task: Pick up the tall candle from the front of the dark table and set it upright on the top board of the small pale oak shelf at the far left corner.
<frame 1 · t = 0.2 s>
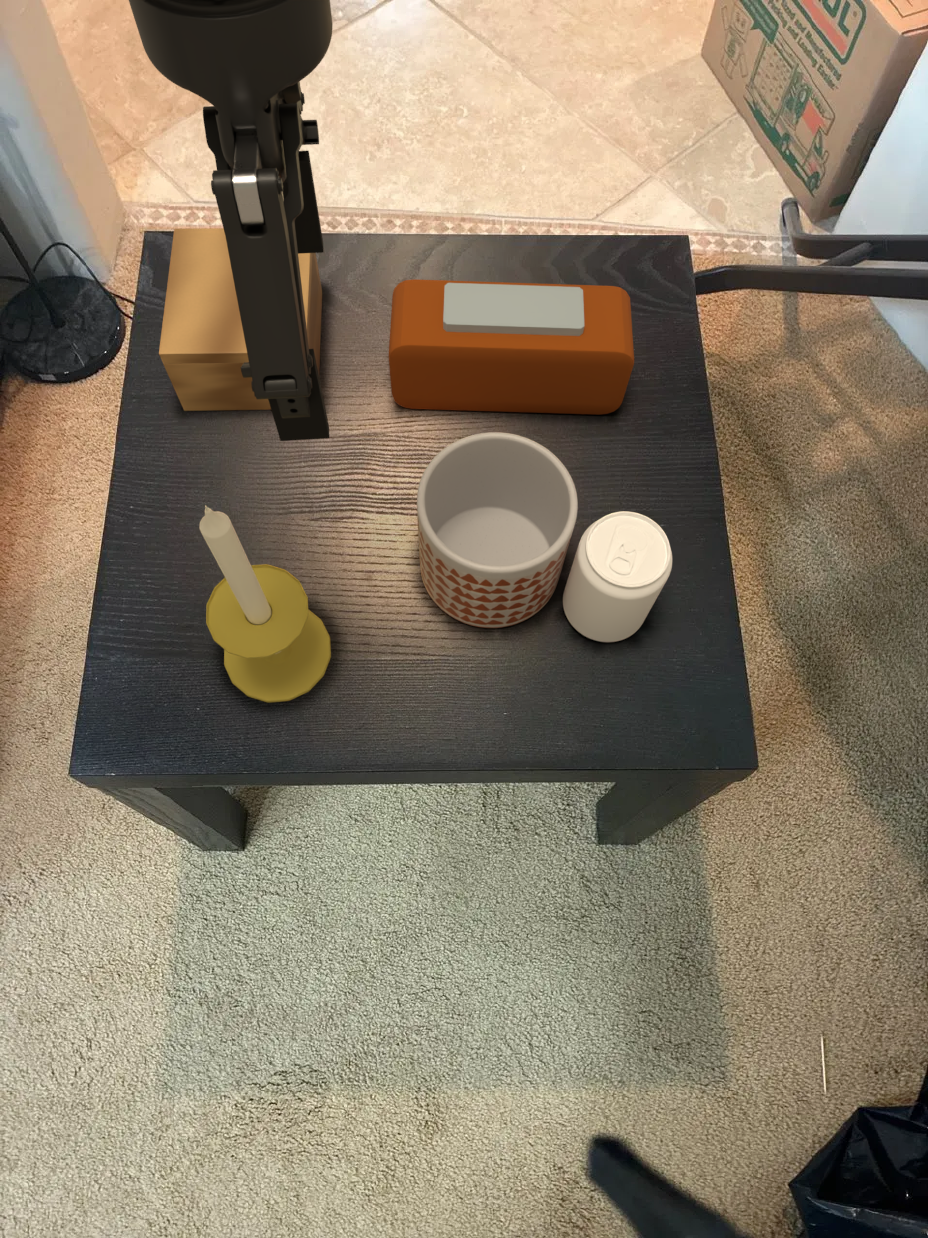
hand: (303, 337, 51), 36 cm above the table, tool pointing down, fingers open, 13 cm apart
candle: (278, 652, 81), on the table
beverage can: (603, 606, 84), on the table
alarm clock: (505, 382, 94), on the table
shelf: (255, 348, 95), on the table
planter: (489, 566, 85), on the table
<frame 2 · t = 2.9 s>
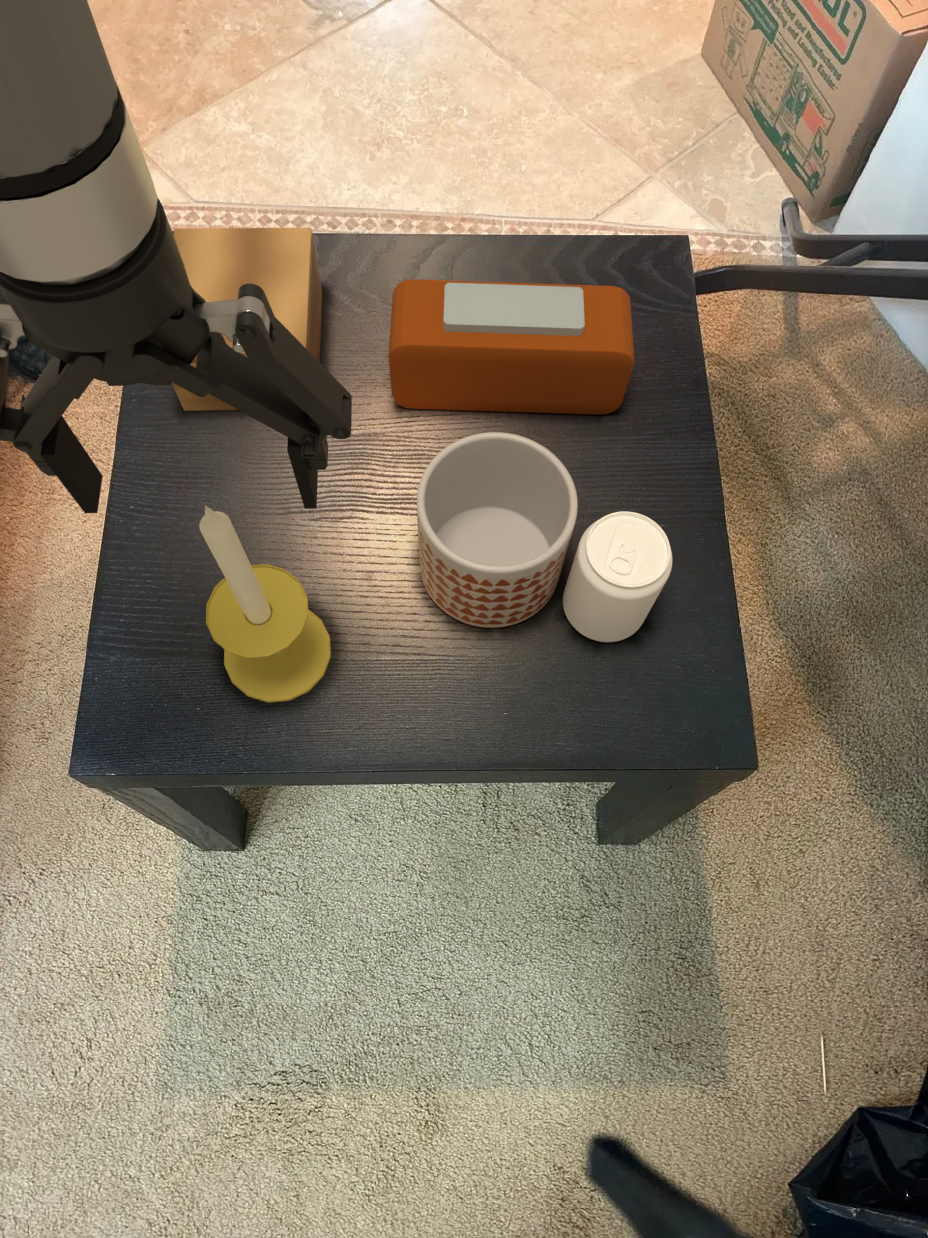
hand: (203, 492, 55), 28 cm above the table, tool pointing down, fingers open, 13 cm apart
nothing on the table moved.
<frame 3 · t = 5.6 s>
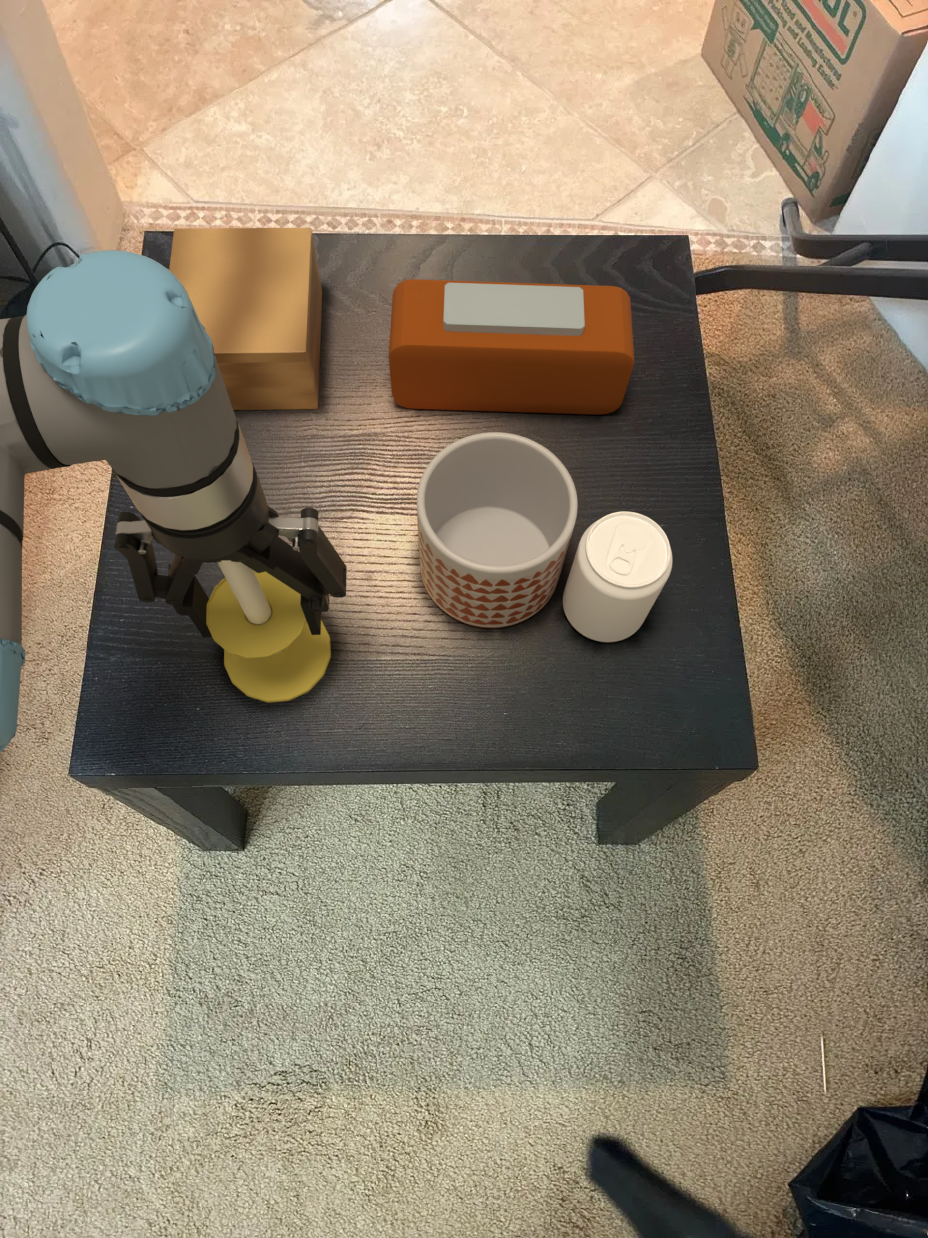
hand: (263, 621, 74), 7 cm above the table, tool pointing down, fingers closed on candle, 8 cm apart
candle: (278, 652, 81), on the table, touching gripper
everything else where it was.
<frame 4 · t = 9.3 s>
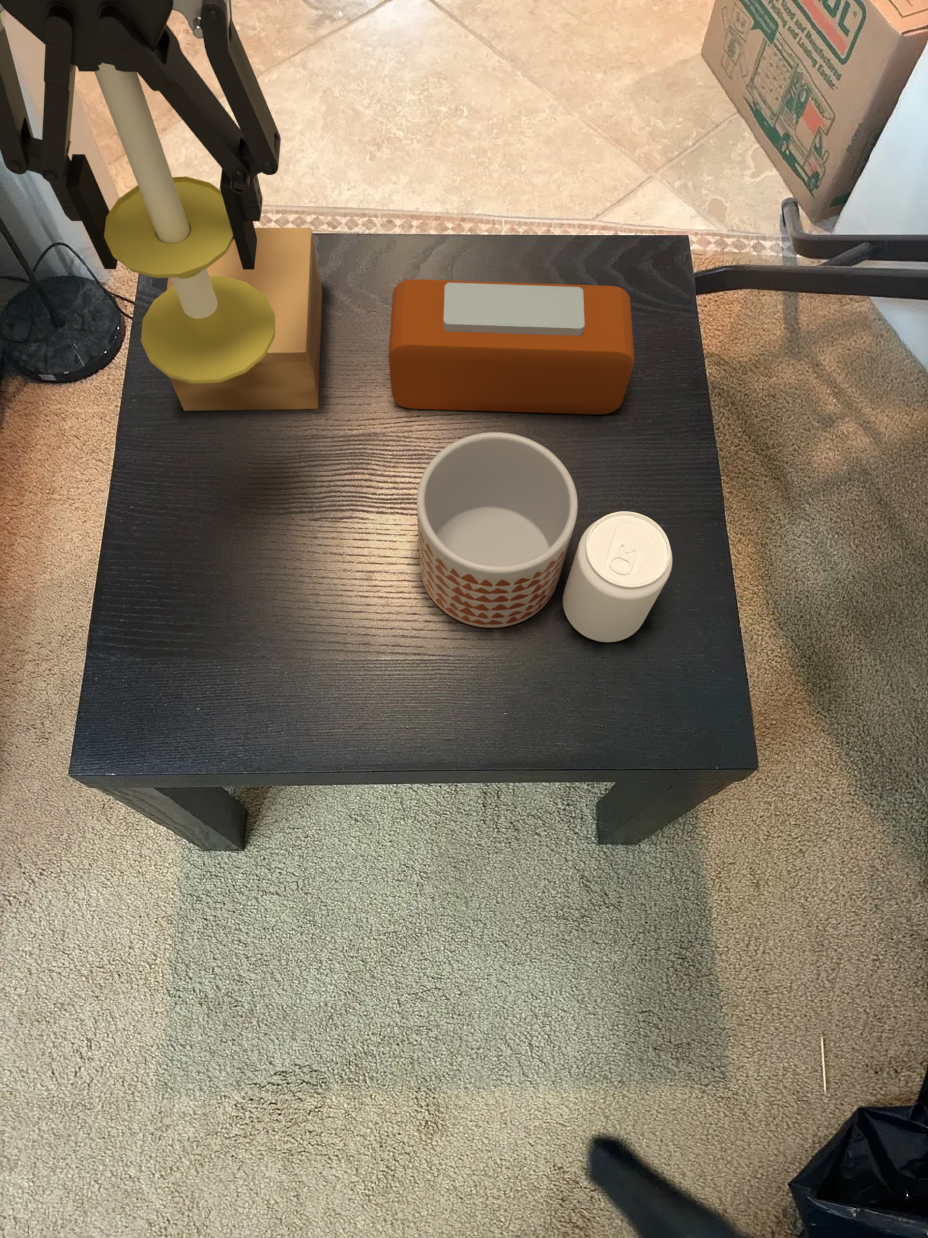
hand: (181, 253, 58), 32 cm above the table, tool pointing down, fingers closed on candle, 8 cm apart
candle: (209, 331, 65), point 24 cm above the table, touching gripper
everything else where it was.
when the fingers open (16 cm above the table, at t = 13.4 s): candle stays where it is, resting on shelf.
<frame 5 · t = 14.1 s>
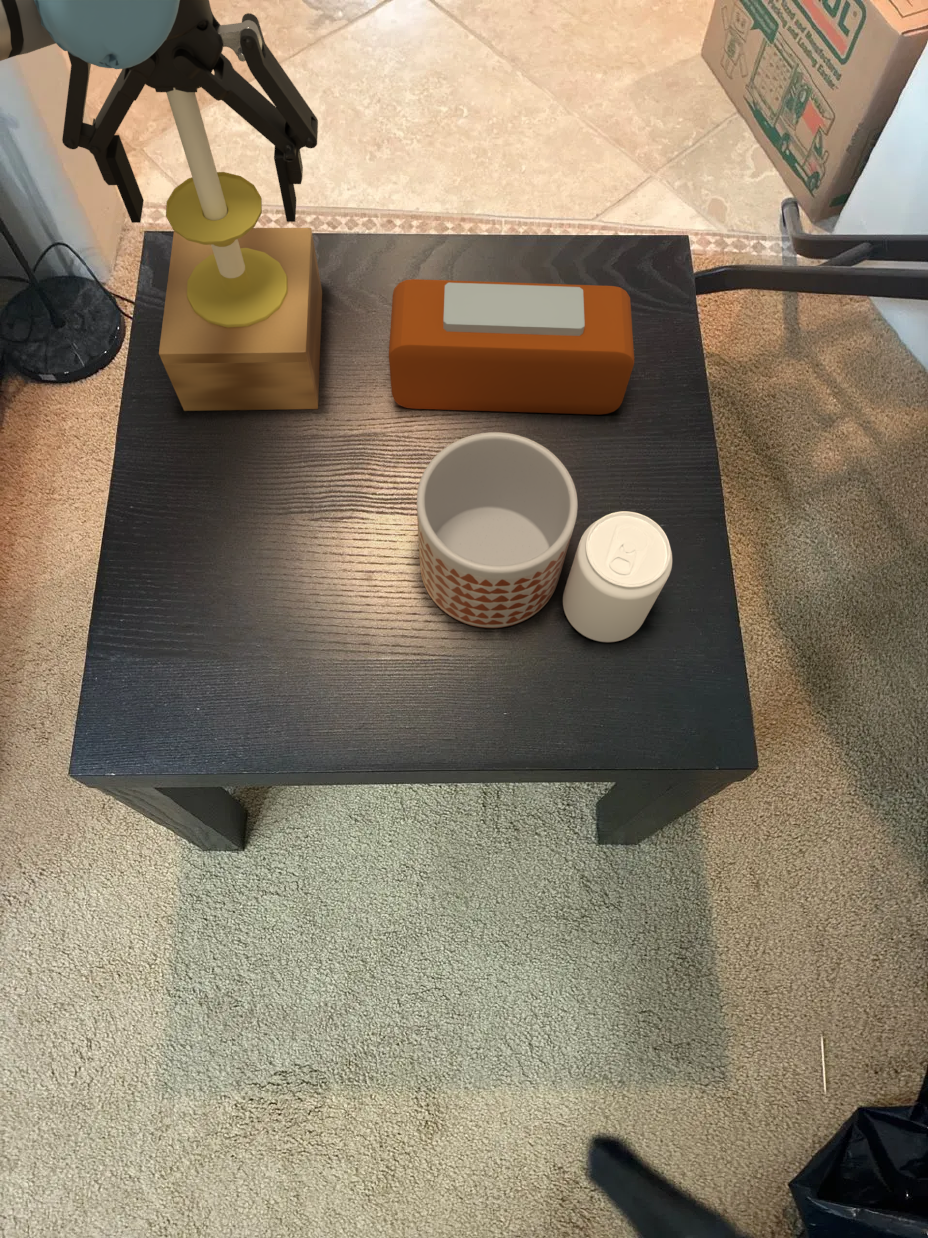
hand: (215, 211, 78), 18 cm above the table, tool pointing down, fingers open, 13 cm apart
candle: (238, 289, 87), point 9 cm above the table, touching shelf
everything else where it was.
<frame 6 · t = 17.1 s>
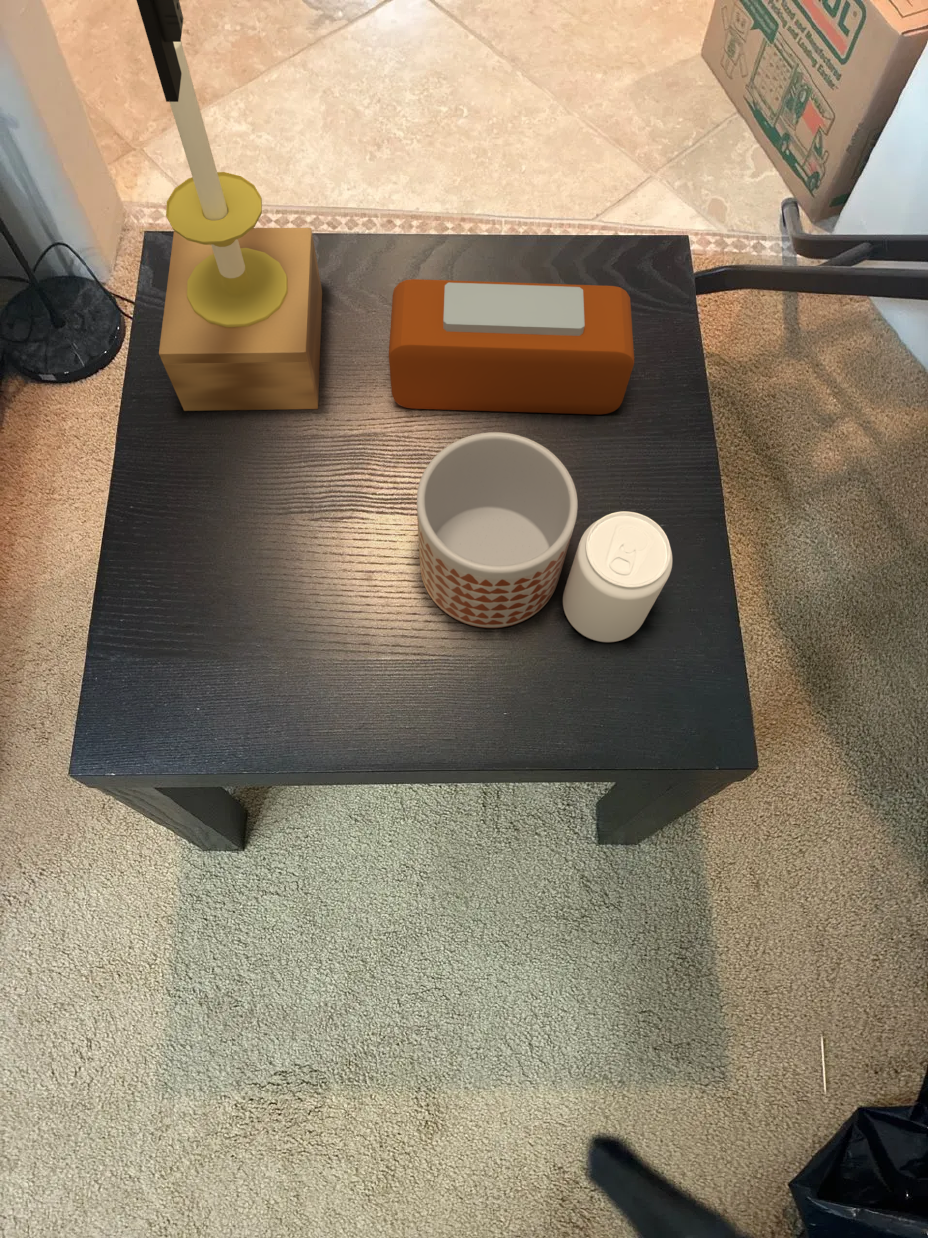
hand: (66, 87, 56), 38 cm above the table, tool pointing down, fingers open, 13 cm apart
nothing on the table moved.
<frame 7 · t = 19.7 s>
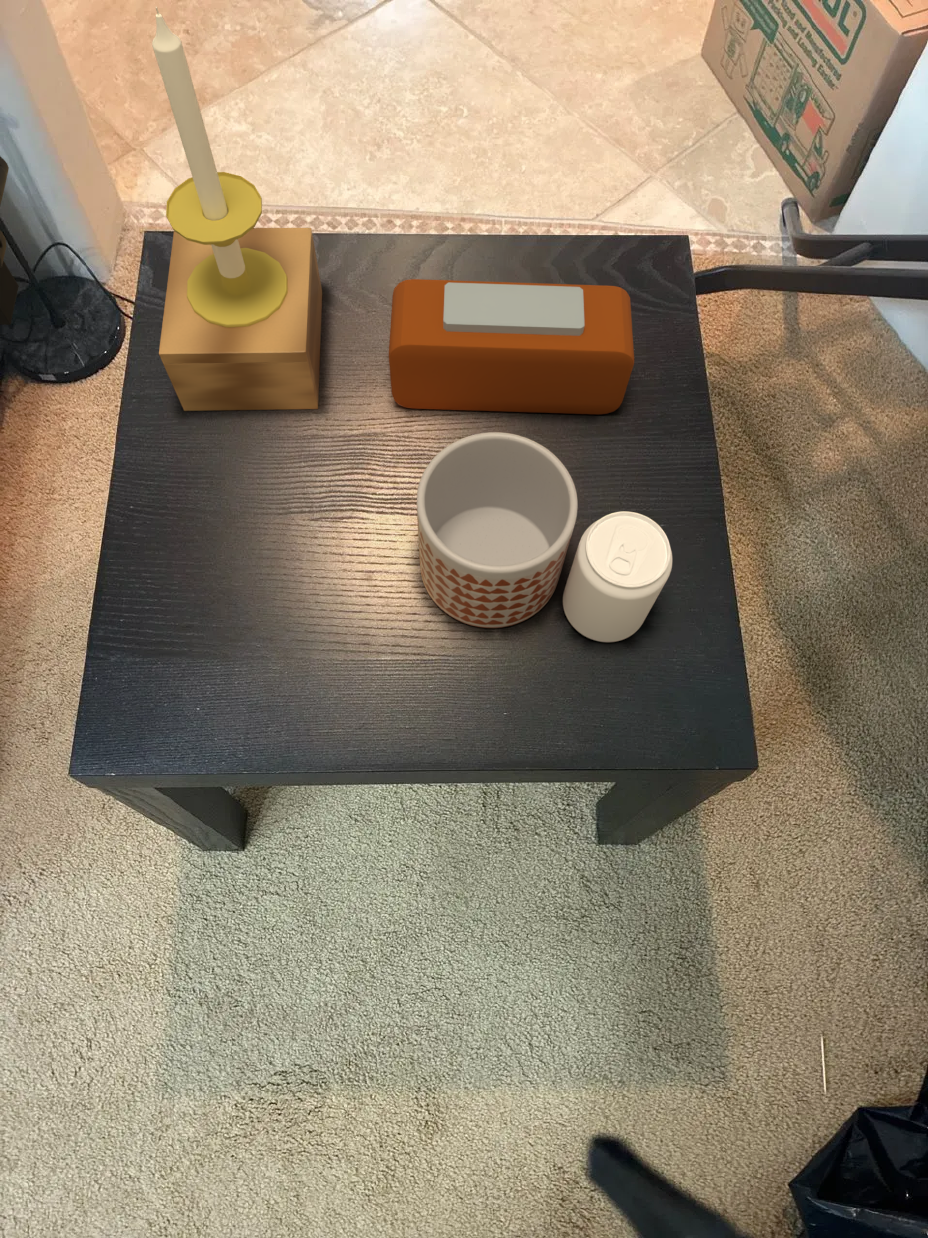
nothing on the table moved.
at the end: candle inside the target area on the shelf (0.0 cm from its centre), point 8.8 cm above the shelf's base; candle tilted 0°; the gripper is holding nothing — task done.
